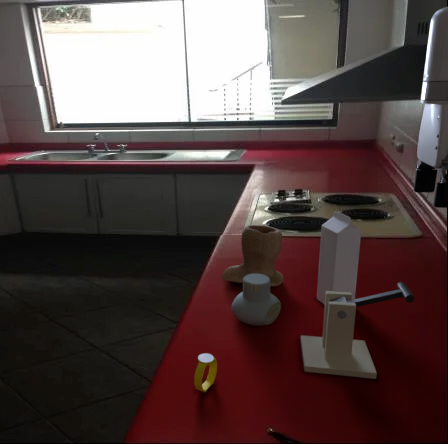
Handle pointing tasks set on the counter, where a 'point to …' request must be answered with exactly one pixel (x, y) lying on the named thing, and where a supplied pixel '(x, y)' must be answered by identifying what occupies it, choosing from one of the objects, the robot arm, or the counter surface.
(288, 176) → the counter surface
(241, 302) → the air freshener
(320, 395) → the counter surface
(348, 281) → the milk
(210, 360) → the watch
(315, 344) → the cream lever stand
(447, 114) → the robot arm
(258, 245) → the tan boot
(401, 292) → the lever
